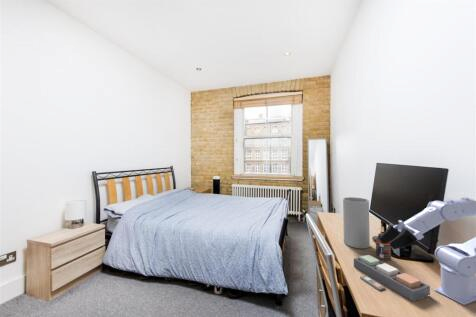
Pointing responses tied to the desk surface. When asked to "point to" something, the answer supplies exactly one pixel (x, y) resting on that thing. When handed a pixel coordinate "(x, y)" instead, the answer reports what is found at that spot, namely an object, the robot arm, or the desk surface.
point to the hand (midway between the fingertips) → (386, 243)
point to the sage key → (369, 260)
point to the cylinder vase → (356, 222)
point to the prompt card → (372, 283)
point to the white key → (387, 269)
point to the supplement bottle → (383, 249)
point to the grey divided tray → (393, 281)
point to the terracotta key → (408, 281)
